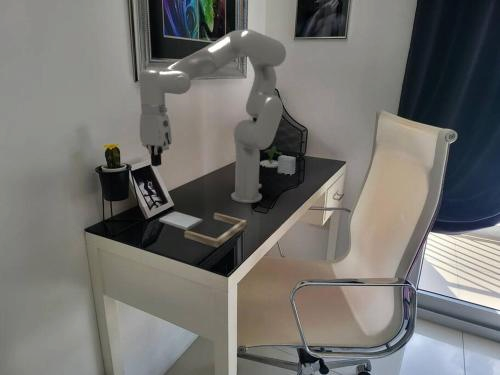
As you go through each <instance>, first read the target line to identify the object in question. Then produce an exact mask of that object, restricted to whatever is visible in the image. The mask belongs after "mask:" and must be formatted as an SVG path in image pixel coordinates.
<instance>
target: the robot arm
mask: <svg viewBox="0 0 500 375" xmlns="http://www.w3.org/2000/svg"><path fill="white" fill-rule="evenodd" d="M239 58H248V60H249V62H250V64H251V66H252V68H253V72H254V78H253V81H252V86H251V89H250V92H249V95H248V98H247V101H246V103H245V104H246V105H245V111H246V114H247V115H248V116H250V117H252V118H255V119H256V121H255V120H251V119H244V120H241V121H238V122H237V124H236V125H235V127H234V131H233V138H234V144H235V172H234V175H235V181H234V183H235V184H234V185H235V187H234V192H232V193H231V196H230V198H231V199H232V200H233V201H234V202H237V203H241V204H253V203H257V202H260V201H261V200H262V197H263V195H262V193H260V192H259V189H261V188H262V184H261V183H260V182H259V181H260V162H261V161H260V158H261V156H260V155H261V153H260V151H262V150H264V151H265V150H266V149H269V147H270V146H271V145H272V143H273V141H274V139H275V137H276V135H277V134H276V133H277V132H278V128H279V125H280V122H281V119H282V116H283V112H284V110H283V108H284V107H283V102H282V100H281V98H280V97H278V96H277V95H275V89H276V86H277V81H278V80H277V72H276V70H275V68H276V67H279V66H280V65H282V64H283V63H284V62H285V60H286V58H287V51H286V47H285V46H284V44H283V43H282V42H281V41H280V40H278V39H275V38H273V37H270V36H267V35H265V34H262V33H260V32H258V31H256V30H252V29H247V28H246V29H236V30H232V31H230V32H228V33H227V34H225V35H223V36H222V37H220V38H219V39H217V40H215V41H213V42H212V43H209V44H208V45H207V46H205V47H203V48H201V49H199V50H197V51H195V52H194V53H192V54H190V55H188V56H186V57H183V58H181V59H179V60H177V61H176V62H174V63H172V64H171V65H169V66H167V67H166V68H164V69H162V70H159V69H141V70H139V73H138V76H139V77H138V78H139V80H138V81H139V94H140V95H139V96H140V111H141V113H140V117H139V138H140V142H141V144H142V147H144V148H146V149H147V150H148V154H150V165H151V166H152V167H160V166H161V165H162V154H163V152H164V151H168V150H169V149H170V146H169V145H171V144H172V131H171V130H172V129H171V123H170V117H169V116H168V114H166V112H168V107H166V94H173V95H183V94H185V93H187V92H188V91H189V90H190V89H191V86H192V80H194V79H197V78H200V77H203V76H207V75H212V74H215V73H217V72H219V71H220V70H222V69H223V68H225V67H227V66H228V65H229V64H232V62H234V61H237V59H239Z"/></svg>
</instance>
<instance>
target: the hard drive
mask: <svg viewBox="0 0 500 375" xmlns="http://www.w3.org/2000/svg"><path fill="white" fill-rule="evenodd" d="M203 221H204V220H203V218H198V217H196V216H193V215H188V214H185V213H183V212H179V211H173V212H171V213H168V214H167V215H165V216H162V217H159V219H158V222H161V223H163V224H166V225H170V226H172V227H175V228H179V229H182V230H185V231H186V230H188V231H190V229H192V228H194V227H196V226H198V225H199V224H201V223H203Z"/></svg>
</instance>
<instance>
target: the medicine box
mask: <svg viewBox="0 0 500 375" xmlns="http://www.w3.org/2000/svg"><path fill="white" fill-rule="evenodd" d="M296 158H297V157H295V156H289V155H288V156H287V155H283V154H282V155H279V156H278V158H277V161H278V167H277V173H278V174H282V173H284V174H283V175H287V174H290V175H289V176H293V175H294V174H295V173H296V162H297V161H296ZM292 174H293V175H292Z"/></svg>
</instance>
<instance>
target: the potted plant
mask: <svg viewBox="0 0 500 375" xmlns="http://www.w3.org/2000/svg"><path fill="white" fill-rule="evenodd" d="M263 152H264V154H265V153H267V155H268V159H265V160H261V161H260V164H259V166H261V165H262V166H261V167H264V166H265V167H264V168H278V167H277V166H278V160H273V158H274V155H275V154H278V155H279V156H282V155H283V154H284V153H282V151H280V152H279V151H277V150H276V146H275V145H272V147H271V148H270V149H269V148H268V149H267V150H266V149H264V151H263Z"/></svg>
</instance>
